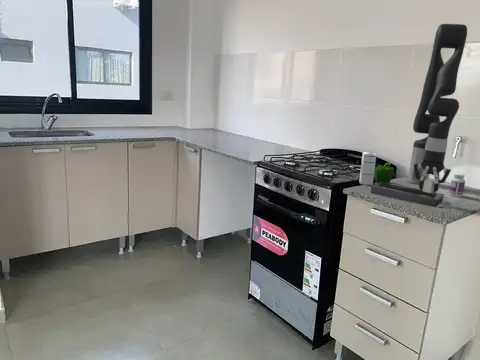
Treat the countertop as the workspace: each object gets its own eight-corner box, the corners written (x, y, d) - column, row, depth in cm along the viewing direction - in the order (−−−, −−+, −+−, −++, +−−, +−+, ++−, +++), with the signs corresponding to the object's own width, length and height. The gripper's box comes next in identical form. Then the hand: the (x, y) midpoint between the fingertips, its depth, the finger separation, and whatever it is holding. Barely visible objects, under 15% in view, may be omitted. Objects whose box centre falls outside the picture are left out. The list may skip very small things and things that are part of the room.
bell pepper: (369, 181, 189) (372, 160, 187) (382, 180, 193) (385, 160, 190) (381, 185, 182) (385, 164, 179) (395, 184, 185) (398, 163, 183)
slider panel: (380, 187, 177) (381, 180, 176) (442, 201, 162) (444, 192, 161) (370, 192, 168) (371, 184, 167) (435, 207, 152) (437, 198, 152)
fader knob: (424, 191, 162) (427, 179, 160) (432, 193, 160) (434, 180, 158) (422, 193, 159) (424, 180, 157) (430, 195, 157) (432, 182, 155)
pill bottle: (460, 194, 174) (465, 173, 171) (463, 197, 169) (467, 176, 166) (447, 193, 175) (451, 172, 173) (449, 196, 170) (453, 174, 168)
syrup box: (372, 185, 181) (377, 154, 177) (359, 184, 182) (363, 153, 178) (371, 182, 186) (375, 152, 183) (358, 181, 187) (362, 151, 184)
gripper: (457, 151, 153) (449, 193, 158) (419, 145, 162) (412, 185, 166) (453, 153, 148) (445, 196, 152) (414, 147, 156) (407, 188, 160)
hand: (427, 190), depth 159 cm, fingers open, 4 cm apart
